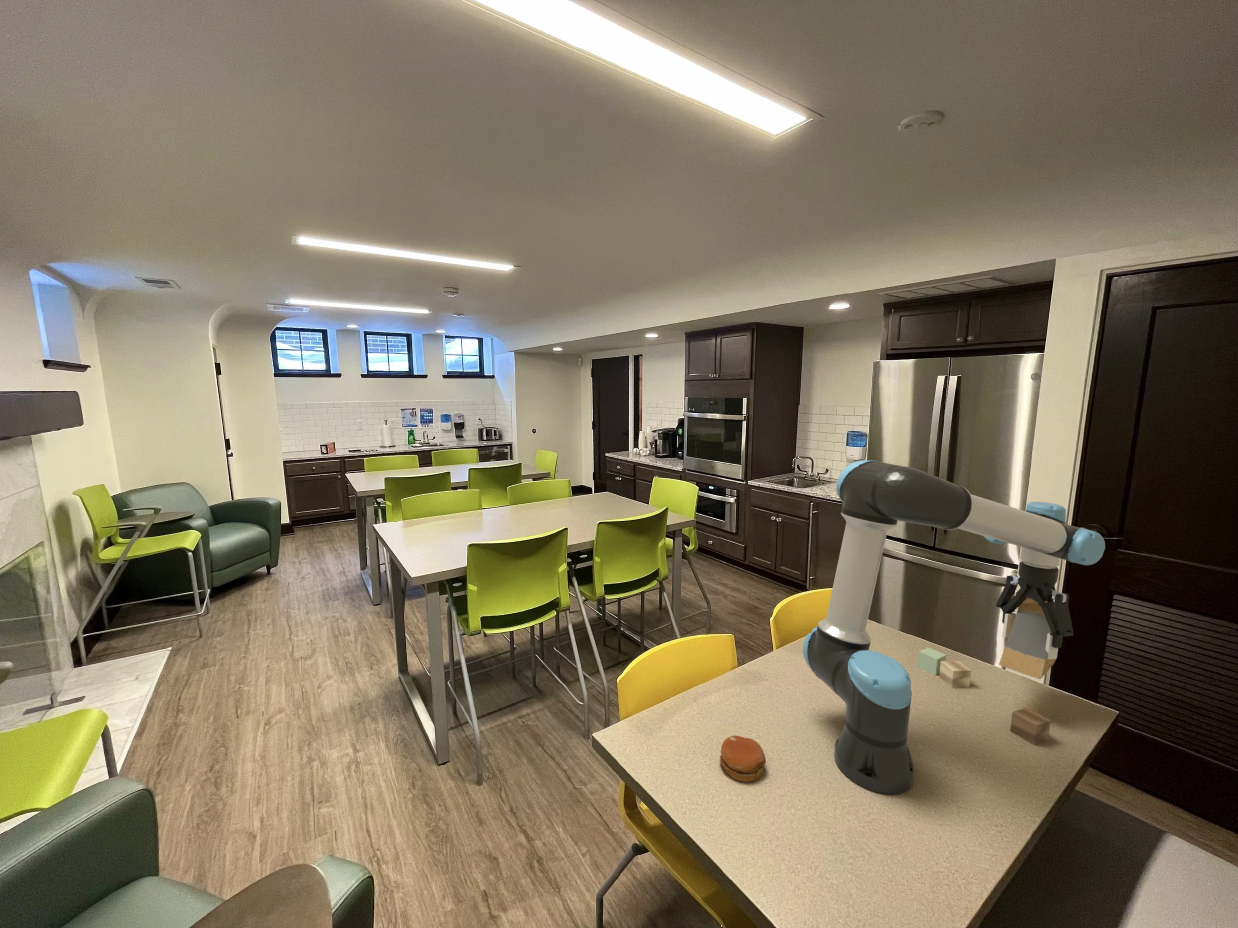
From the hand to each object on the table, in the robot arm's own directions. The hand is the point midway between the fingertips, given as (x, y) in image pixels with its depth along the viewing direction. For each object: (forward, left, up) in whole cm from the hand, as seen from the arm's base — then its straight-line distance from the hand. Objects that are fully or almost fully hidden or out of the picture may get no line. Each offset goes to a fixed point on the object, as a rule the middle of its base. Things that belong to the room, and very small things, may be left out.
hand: (1028, 647), depth 124 cm
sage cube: (-11, +18, -15) cm, 26 cm away
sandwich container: (-1, -1, -4) cm, 4 cm away
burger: (-81, -9, -16) cm, 83 cm away
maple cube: (-10, +11, -15) cm, 21 cm away
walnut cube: (-11, -11, -15) cm, 22 cm away
